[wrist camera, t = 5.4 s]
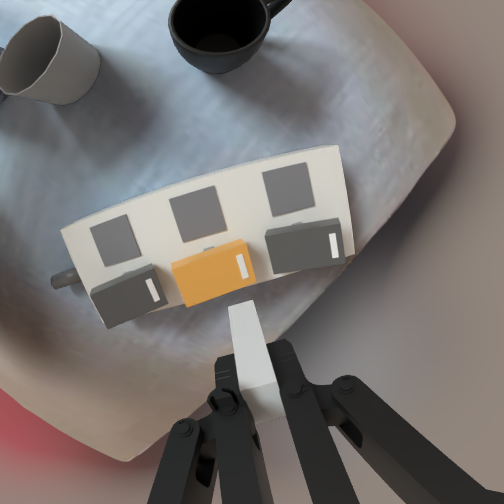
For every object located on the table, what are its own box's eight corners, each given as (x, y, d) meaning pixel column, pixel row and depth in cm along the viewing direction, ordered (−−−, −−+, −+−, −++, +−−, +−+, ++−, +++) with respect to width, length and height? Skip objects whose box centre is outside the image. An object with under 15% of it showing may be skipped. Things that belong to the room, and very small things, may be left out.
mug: (295, 49, 25) (326, 16, 16) (206, 98, 26) (202, 75, 18) (255, 1, 22) (271, -42, 14) (166, 47, 23) (149, 11, 15)
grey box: (108, 321, 26) (107, 329, 24) (91, 288, 25) (89, 295, 23) (165, 296, 28) (168, 304, 27) (151, 263, 27) (153, 268, 25)
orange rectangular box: (185, 299, 27) (186, 308, 25) (170, 263, 25) (171, 270, 24) (251, 275, 28) (256, 282, 27) (240, 238, 27) (246, 243, 25)
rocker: (275, 266, 29) (273, 274, 27) (266, 229, 27) (264, 236, 26) (343, 255, 27) (345, 263, 25) (338, 217, 26) (340, 223, 24)
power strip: (80, 313, 33) (65, 336, 28) (44, 234, 28) (21, 248, 23) (338, 241, 34) (358, 257, 29) (321, 145, 30) (342, 145, 25)
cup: (113, 63, 23) (77, 34, 14) (67, 117, 24) (19, 110, 15) (76, 33, 20) (38, 5, 11) (34, 84, 21) (-13, 72, 12)
